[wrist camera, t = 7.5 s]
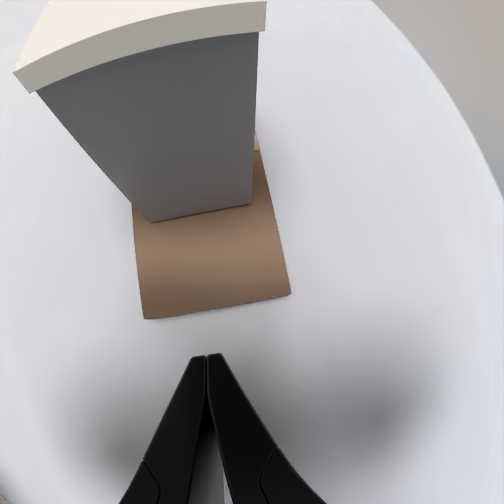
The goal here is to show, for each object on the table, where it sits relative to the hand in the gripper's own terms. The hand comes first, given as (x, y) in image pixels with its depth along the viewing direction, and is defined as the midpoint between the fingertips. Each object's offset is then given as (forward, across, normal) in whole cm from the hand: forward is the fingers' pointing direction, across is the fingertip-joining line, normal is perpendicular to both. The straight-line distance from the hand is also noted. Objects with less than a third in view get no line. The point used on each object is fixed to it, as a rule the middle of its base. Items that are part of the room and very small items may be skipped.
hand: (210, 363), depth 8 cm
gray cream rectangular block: (+10, 0, -2) cm, 10 cm away
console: (+10, 0, 0) cm, 10 cm away
